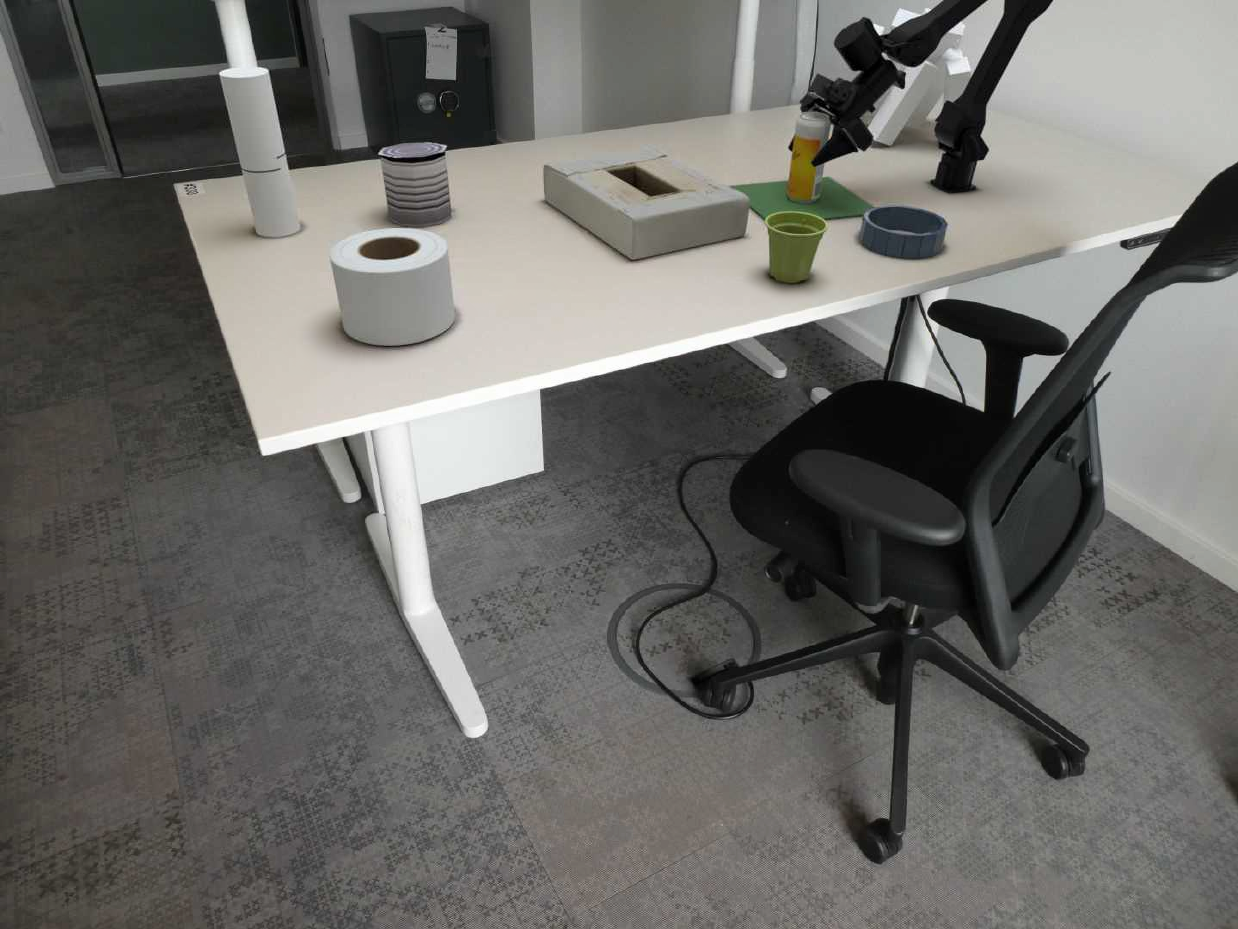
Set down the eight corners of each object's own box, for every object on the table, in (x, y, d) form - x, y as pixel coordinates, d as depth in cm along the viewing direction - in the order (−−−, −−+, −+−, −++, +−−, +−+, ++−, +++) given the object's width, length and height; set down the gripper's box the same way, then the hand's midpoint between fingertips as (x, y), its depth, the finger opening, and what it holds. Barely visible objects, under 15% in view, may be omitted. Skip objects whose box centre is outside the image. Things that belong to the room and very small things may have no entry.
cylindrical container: (308, 224, 151) (278, 69, 136) (283, 239, 146) (248, 79, 131) (273, 219, 153) (239, 64, 138) (247, 233, 148) (208, 74, 133)
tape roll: (344, 300, 128) (330, 229, 122) (450, 292, 131) (443, 222, 125) (341, 352, 116) (327, 276, 110) (459, 341, 119) (452, 266, 113)
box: (748, 236, 151) (647, 180, 173) (753, 192, 146) (648, 140, 168) (634, 265, 141) (542, 202, 163) (635, 219, 136) (540, 160, 158)
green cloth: (827, 178, 176) (828, 176, 176) (880, 214, 160) (881, 211, 160) (726, 188, 170) (726, 185, 170) (771, 225, 155) (771, 223, 155)
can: (386, 228, 150) (375, 157, 143) (389, 205, 159) (380, 137, 152) (453, 226, 152) (446, 155, 145) (453, 202, 161) (446, 135, 154)
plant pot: (818, 291, 134) (827, 236, 128) (756, 285, 135) (763, 230, 130) (819, 266, 141) (828, 214, 136) (761, 260, 142) (767, 208, 137)
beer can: (795, 190, 169) (806, 108, 160) (824, 197, 166) (837, 114, 157) (780, 199, 165) (791, 116, 156) (810, 206, 162) (822, 122, 153)
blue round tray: (909, 223, 157) (914, 201, 155) (958, 252, 147) (964, 229, 144) (844, 232, 153) (848, 210, 151) (889, 263, 143) (894, 239, 140)
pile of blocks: (798, 138, 216) (803, 9, 185) (889, 76, 220) (909, -60, 190) (901, 217, 200) (925, 91, 169) (997, 149, 205) (1037, 14, 174)
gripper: (816, 45, 159) (754, 113, 162) (870, 69, 144) (800, 142, 148) (847, 89, 165) (787, 153, 169) (902, 115, 151) (834, 184, 155)
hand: (800, 157), depth 160 cm, fingers open, 9 cm apart
